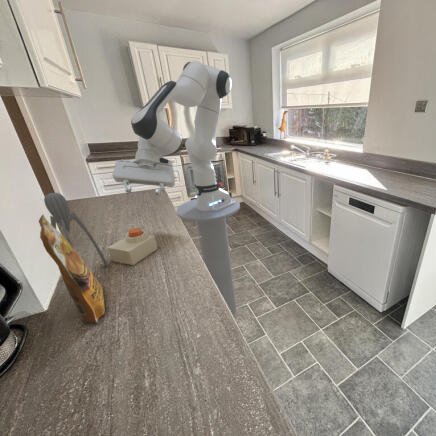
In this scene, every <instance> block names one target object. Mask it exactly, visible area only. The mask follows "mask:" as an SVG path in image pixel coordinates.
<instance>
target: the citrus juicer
mask: <svg viewBox="0 0 436 436" xmlns="http://www.w3.org/2000/svg"><path fill="white" fill-rule="evenodd" d="M43 199H44V200H43V202H44V206H45V208H46V209H47V211H48V212H49V214H50V215H49V218H50V224H51V225H52V226H53V227H54V228H55V229H56V230H57V224H59V225H60V226H61V227H62V229H63V232H64V235H65V239H66V240H67V241H68V242H69V243H70V245H71V246H72V248H73V249H74V250H75V248H74V246H73V243H72V241H71V238H70V236H69V233H70V231H71V229H70V228H71V222H72V221H73V220H74V221H75V222H76V224H78V225H79V226H80V227H81V229H82V230H83V231H84V233H85V234H86V236H87V237H88V238H89V240H90V241H91V243H92V245H93V246H94V248H95V249H96V251H97V253H98V255H99V257H100V258H101V260H102V263H103V265H104V267H105V268H106V267H108V263H107V260H106V258H105V256H104V254H103V252H102V250H101V248H100V246H99V245H98V243H97V242H96V240H95V238H94V237H93V235H92V233H91V232H90V231H89V228H88V227H87V226H86V225H85V224H84V222H83V221H82V220H81V218H80V217H79V216H78V215H77V213H76V212H75V211H73V212H72V213H71V212H70V207H69V203H68V201H67V199H66V198H65V196H64V195H63V194H61V193H59V192H50V193H47V194H46V195H44V198H43Z"/></svg>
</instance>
